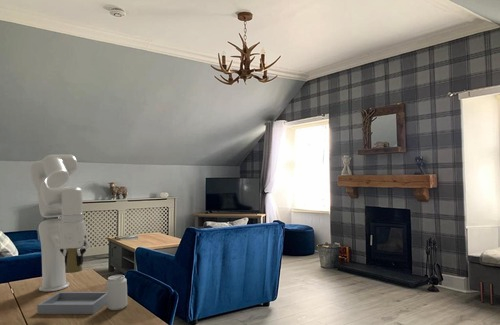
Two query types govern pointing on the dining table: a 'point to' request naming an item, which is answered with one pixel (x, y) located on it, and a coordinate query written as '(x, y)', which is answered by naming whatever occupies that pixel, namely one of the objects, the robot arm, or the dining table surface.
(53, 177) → the robot arm
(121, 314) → the dining table surface
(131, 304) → the dining table surface
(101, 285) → the dining table surface
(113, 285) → the can
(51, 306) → the tray
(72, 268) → the pepper mill
